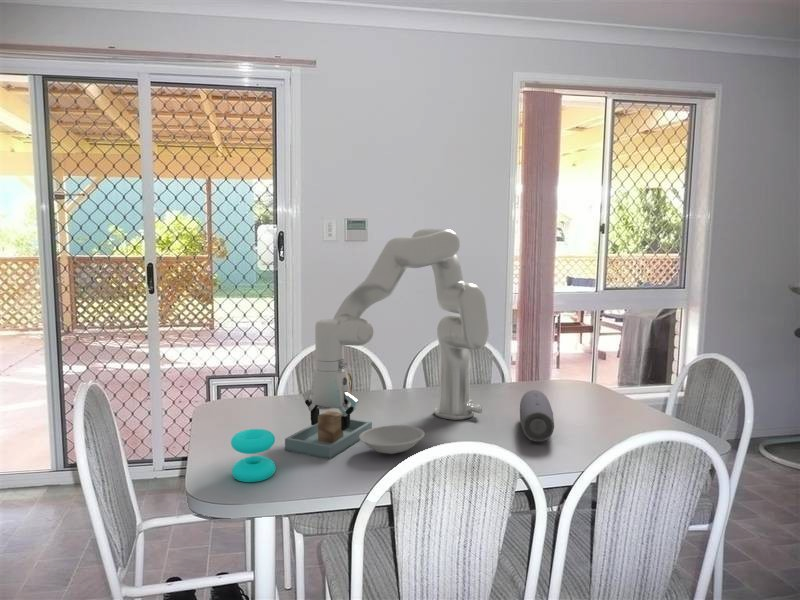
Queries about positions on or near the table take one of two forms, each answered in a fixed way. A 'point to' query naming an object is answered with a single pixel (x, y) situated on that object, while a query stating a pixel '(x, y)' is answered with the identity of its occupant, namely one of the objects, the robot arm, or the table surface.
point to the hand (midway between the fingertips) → (330, 426)
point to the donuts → (254, 465)
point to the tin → (350, 382)
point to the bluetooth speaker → (536, 416)
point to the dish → (391, 438)
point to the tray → (311, 446)
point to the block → (329, 426)
